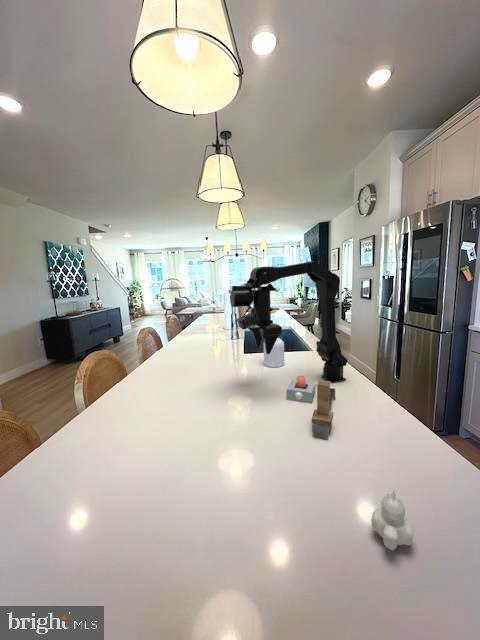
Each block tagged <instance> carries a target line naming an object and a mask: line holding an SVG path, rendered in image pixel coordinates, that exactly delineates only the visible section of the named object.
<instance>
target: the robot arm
mask: <svg viewBox="0 0 480 640" xmlns="http://www.w3.org/2000/svg"><path fill="white" fill-rule="evenodd" d="M305 274H306V275H308V277H309V279H310V280H311V281H312V282H313V283H315V288H316V292H317V294H318V296H319V298H320V316H321V317H320V319H321V320H320V321H321V338H320V340H317V341H315V342H316V343H315V344H316V352H317V355H318V356H319V357H320V358H321V361H322V362H324V363H323V368H322V371H323V372H322V375H321V378H323V379H325V381H329V382H330V383H336V382H337V383H338V382H343V381H346V378H345V377H344V367H346V366H347V364H348V359H347V358H346V357H345V356H344V355H343V354H342V349H341V344H340V342H339V341H338V339H337V331H336V329H337V328H336V297H337V295H338V294H339V291H340V283H341V281H340V280H341V279H340V276H339V275H338V274H336V273H333V272H332V271H331V270H329V269H327V268H326V267H325V266H323V265H321V264H320V263H318V262H317V261H315V260H309V261H305V262H302V263H301V262H300V263H295V264H290V265H284V266H256V267H254V268H253V269H252V270H251V271H250V274H249V275H250V276H249V278H248V280H247V281H246V283H245V285H244V286H243V285H239V286H238V285H232V286H231V287H230V288H231V289H230V295H229V302H230V306H231V307H232V308H242V307H250V306H251V304H252V307H251V309H250V312H249V313H246V314H244V315H242V316H240V317H237V318H236V322H237V324H238V326H239V329H241V330H247V329H248V330H249V331H250V332H251V333H252V335H253V339H254V343H255V346H256V347H257V348H260V347H261V345H262V341H263V344H264V343H265V349H266V354H270V352H271V350H272V348H273V346H274V344H275V342H276V340H277V338H279V337H280V336H281V335H282V334H283V327H282V326H281V325H279V324H277V323H275V322H274V321H273V319H271V315H272V314H271V312H272V311H274V309H273V307H271V292H277V288H275V286H273V284H272V283H274V282H275V281H278V280H281V279H283V278H289V277H294V276H299V275H305Z"/></svg>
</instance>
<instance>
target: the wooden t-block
mask: <svg viewBox="0 0 480 640" xmlns="http://www.w3.org/2000/svg"><path fill="white" fill-rule="evenodd" d="M330 385H331V382H329V381H328V380H318V381H317V384H316V388H317V389H316V392H317V393H316V399H317V400H316V408H314V409H313V411H312V412H313V413H312V416H311V424H312V425H311V426H312V429H313V423H319V424H324V425H329V432H331V430H332V426H333V419H334V411H331V412H330V411H329V400H330V388H331V386H330Z"/></svg>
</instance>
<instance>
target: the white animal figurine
mask: <svg viewBox="0 0 480 640" xmlns="http://www.w3.org/2000/svg"><path fill="white" fill-rule="evenodd" d="M391 493H392V494H390V493H387V494H386V495H385V496H383V497H382V499H381V506H380V507H379V508H376V509H375V510H374V511H373V513H372V515H371V527H372V529H373V530H374V532H376V533H378V535H379V537H381V538H382V540H383V544H384V546H385V548H387V549H389V550H391V551H395V550H396V549H397V547H398V546H403V545H405V546H411V545H412V543H413V540H414V528H413V525H412V524H411V522H410V521H409V520H408V519H407V518H408V517H407V516H406V506H405V504H404V503H403V502H402V500H401V498H400V497H399V496H397V494H396V490H395V489H393V491H392V492H391Z"/></svg>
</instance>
